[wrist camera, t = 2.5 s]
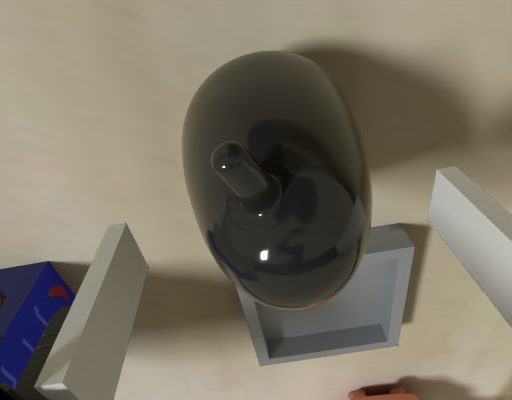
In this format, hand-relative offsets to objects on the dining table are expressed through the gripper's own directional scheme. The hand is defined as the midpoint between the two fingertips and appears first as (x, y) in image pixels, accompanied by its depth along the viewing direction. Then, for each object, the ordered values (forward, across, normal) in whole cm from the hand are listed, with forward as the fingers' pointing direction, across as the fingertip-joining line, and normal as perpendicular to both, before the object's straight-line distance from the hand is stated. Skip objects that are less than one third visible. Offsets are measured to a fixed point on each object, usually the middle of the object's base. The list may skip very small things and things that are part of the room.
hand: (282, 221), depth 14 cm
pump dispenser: (+11, 0, 0) cm, 11 cm away
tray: (+11, +3, -20) cm, 23 cm away
